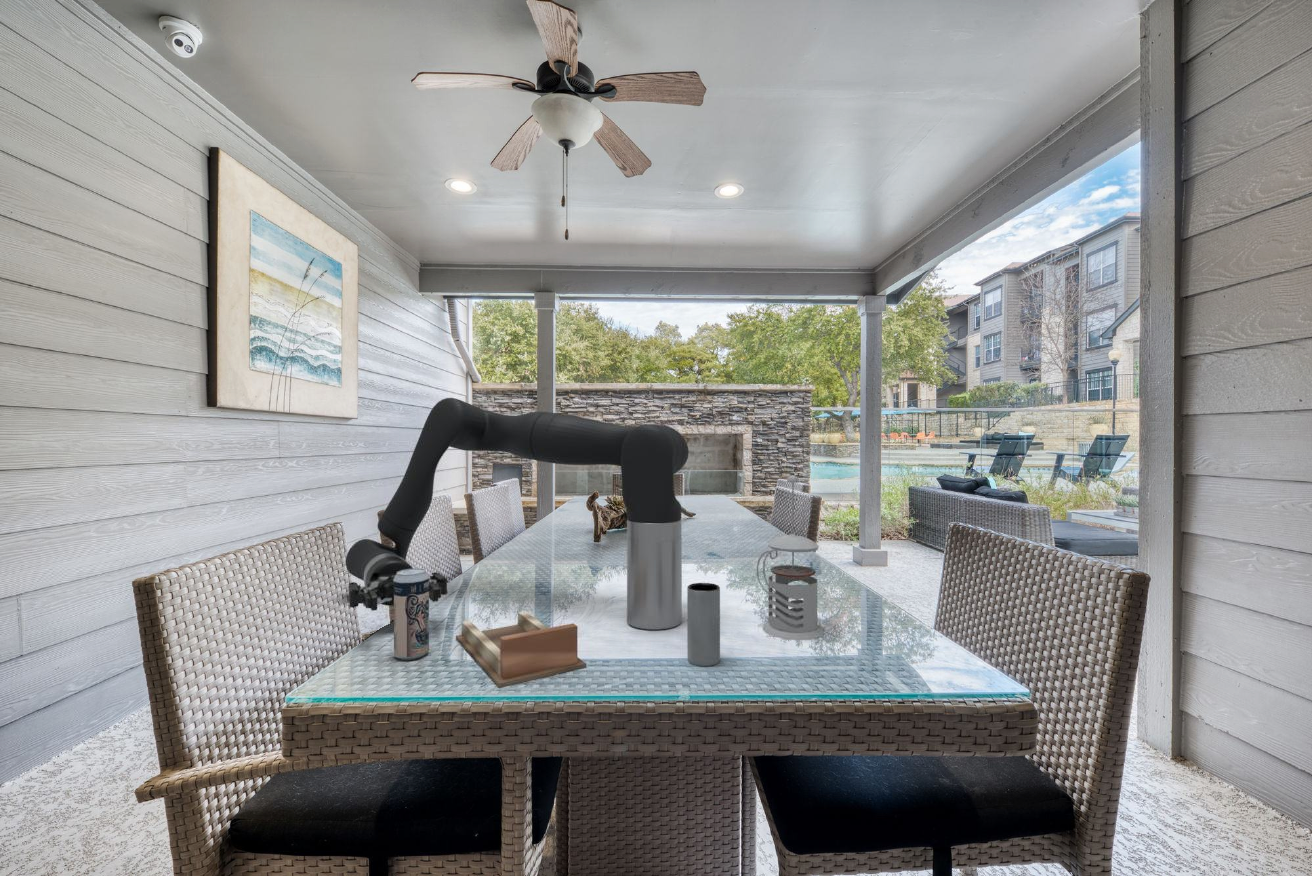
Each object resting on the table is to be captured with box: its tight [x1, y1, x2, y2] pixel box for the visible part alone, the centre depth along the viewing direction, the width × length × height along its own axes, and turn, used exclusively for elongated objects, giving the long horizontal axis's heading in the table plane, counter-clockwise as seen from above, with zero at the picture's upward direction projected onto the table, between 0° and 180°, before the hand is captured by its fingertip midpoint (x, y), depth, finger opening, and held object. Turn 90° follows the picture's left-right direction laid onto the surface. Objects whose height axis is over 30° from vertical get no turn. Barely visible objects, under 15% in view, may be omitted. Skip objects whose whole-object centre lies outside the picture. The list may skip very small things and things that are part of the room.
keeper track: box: [455, 610, 587, 688], centre depth 85 cm, size 21×12×6 cm, turn 33°
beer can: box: [393, 568, 430, 661], centre depth 84 cm, size 5×5×12 cm
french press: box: [756, 474, 825, 641], centre depth 96 cm, size 10×12×25 cm
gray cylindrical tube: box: [686, 582, 721, 667], centre depth 82 cm, size 4×4×10 cm
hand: (406, 599), depth 88 cm, fingers open, 8 cm apart
